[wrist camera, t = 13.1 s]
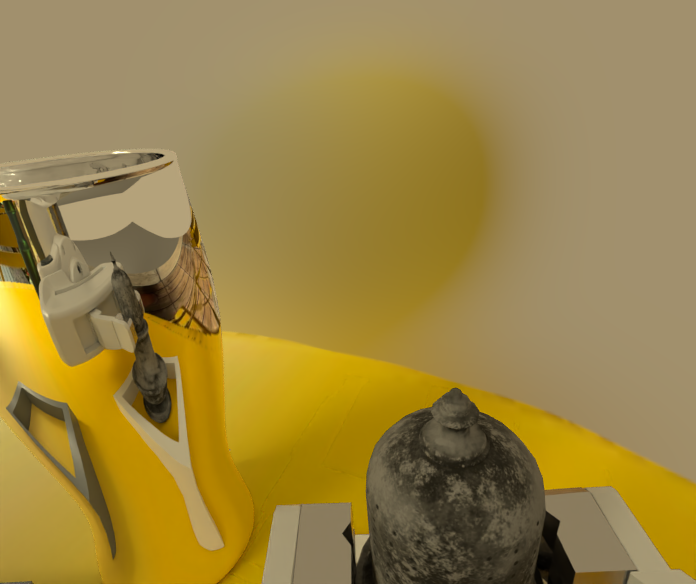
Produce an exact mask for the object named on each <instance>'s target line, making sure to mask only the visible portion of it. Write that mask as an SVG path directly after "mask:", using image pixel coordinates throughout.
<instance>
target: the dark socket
mask: <svg viewBox="0 0 696 584" xmlns="http://www.w3.org/2000/svg"><path fill="white" fill-rule="evenodd" d="M0 584H33V582H32V581H27V582H9V583H0Z"/></svg>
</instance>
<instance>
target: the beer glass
mask: <svg viewBox="0 0 696 584" xmlns="http://www.w3.org/2000/svg"><path fill="white" fill-rule="evenodd" d="M0 417H1V418H2V419H3V421H4V422H5V423H6V424H7V426H8V427H9V428H10V430H11V431H12V432H13V433H14V434H15V435H16V436H17V438H18V439H19V440H20V441H21V442H22V443H23V444H24V445H25V446H26V448H27V449H28V450H29V451H30V452H31V453H32V454H33V455H34V456H35V458H36V459H37V460H38V461H39V462H40V463H41V464H42V465H43V466H44V467H45V468H46V469H47V470H48V472H49V473H50V474H51V475H52V476H53V477H54V478H55V479H56V480H57V481H58V482H59V483H60V484H61V485H62V487H63V488H64V489H65V490H66V491H67V492H68V493H69V495H70V496H71V497H72V498H73V499H74V500H75V502H76V503H77V504H78V505H79V507H80V509H81V510H82V512H83V513H84V515H85V516H86V518H87V520H88V523H89V525H90V527H91V530H92V534H93V538H94V544H95V550H96V556H97V562H98V567H99V572H100V576H101V579H102V582H103V584H217V583H218V582H219V581H220V580H222V579H223V578H224V577H225V576H226V575H227V574H228V573H229V571H230V570H231V569H232V568H233V567H234V566H235V564H236V563H237V562H238V560H239V559H240V557H241V556H242V554H243V552H244V551H245V549H246V547H247V545H248V542H249V540H250V537H251V534H252V530H253V525H254V504H253V500H252V497H251V494H250V492H249V490H248V488H247V486H246V484H245V482H244V480H243V479H242V477H241V475H240V473H239V472H238V470H237V468H236V466H235V464H234V462H233V459H232V457H231V453H230V449H229V447H228V441H227V435H226V422H225V390H224V360H223V343H222V333H221V323H220V313H219V308H218V303H217V298H216V292H215V288H214V282H213V278H212V274H211V270H210V266H209V263H208V259H207V255H206V251H205V248H204V244H203V241H202V237H201V234H200V231H199V228H198V225H197V221H196V218H195V215H194V212H193V209H192V206H191V203H190V200H189V197H188V194H187V191H186V188H185V185H184V182H183V179H182V175H181V172H180V169H179V165H178V161H177V154H176V153H175V152H174V151H171V150H166V149H127V150H111V151H99V152H88V153H79V154H69V155H61V156H52V157H45V158H37V159H29V160H22V161H15V162H9V163H2V164H0Z"/></svg>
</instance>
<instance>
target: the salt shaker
mask: <svg viewBox="0 0 696 584" xmlns="http://www.w3.org/2000/svg"><path fill="white" fill-rule="evenodd" d="M366 499H367V511H368V523H369V535H370V536H369V538H368V539H367V541H366V542H365V544H364V546H363V547H362V551H361V554H360V557H359V560H358V563H357V566H356V573H357V574H356V576H355V584H544V582H543V579H542V576H541V573H540V570H539V569H538V567H537V565H536V563H537V557H538V552H539V547H540V541H541V536H542V530H543V525H544V520H545V514H546V506H545V491H544V485H543V478H542V475H541V473H540V470H539V468H538V465H537V462H536V460H535V458H534V457H533V455H532V454H531V453H530V451H529V450H528V449H527V447H526V446H525V445H524V443H523V442H522V441H521V440H520V439H519V438H518V437H517V436H516V435H515V434H514V433H513V432H512V431H511V430H510V429H509V428H507V427H506V426H505V425H504V424H503V423H501V422H500V421H498V420H496V419H494V418H492V417H491V416H489V415H487V414H484V413H481V412H479V410H478V409H477V407H476V405H475V404H474V403H473V402H471V401H470V400H469V398H468V397H467V396H466V395H465V394H463V393H462V391H461V390H460V389H458V388H453V389H451V390H450V392H447V393H446V394H444V395H443V396H442V398H440V399H438V400H437V401H436V402H434V403H433V406H432V407H430V408H425V409H420V410H418V411H416V412H413V413H411V414H409V415H406V416H405V417H403V418H402V419H401V420H400V421H398V422H397V423H396V424H394V425H393V426H392V427H391V428H389V429H388V430H387V431H386V432H385V433H384V435H383V436H382V437H381V438H380V440H379V441H378V442H377V444H376V445H375V448H374V450H373V453H372V456H371V458H370V461H369V466H368V470H367V480H366Z"/></svg>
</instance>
